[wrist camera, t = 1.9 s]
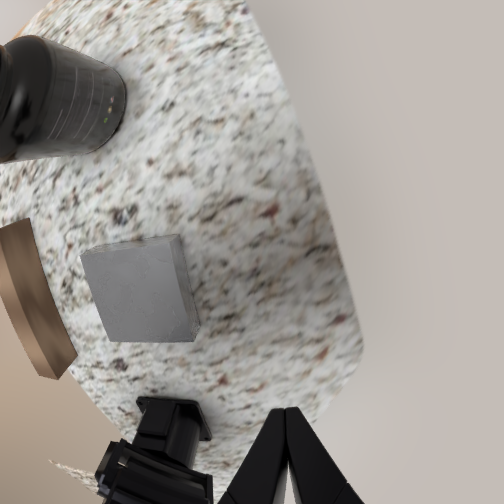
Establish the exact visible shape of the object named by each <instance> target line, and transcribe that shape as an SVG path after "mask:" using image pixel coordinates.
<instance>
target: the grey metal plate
mask: <svg viewBox="0 0 504 504" xmlns="http://www.w3.org/2000/svg"><path fill="white" fill-rule="evenodd" d="M80 258H81V261H82V265H83V268H84V271H85V275H86V278H87V281H88V284H89V287H90V290H91V293H92V296H93V299H94V302H95V304H96V307H97V310H98V312H99V315H100V318H101V320H102V323H103V325H104V328H105V330H106V333H107V335H108V338H109V340H110V341H111V342H194V340H195V338H196V335H197V333H198V330H199V327H200V322H199V318H198V314H197V310H196V306H195V302H194V298H193V294H192V290H191V286H190V281H189V277H188V273H187V268H186V264H185V259H184V254H183V250H182V245H181V240H180V235H179V234H174V235H167V236H160V237H153V238H146V239H139V240H133V241H126V242H120V243H113V244H107V245H101V246H95V247H93V248H92V249H90V250H88V251H87V252H85V253H83V254H82V255H80Z"/></svg>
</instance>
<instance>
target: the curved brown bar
mask: <svg viewBox="0 0 504 504" xmlns="http://www.w3.org/2000/svg"><path fill="white" fill-rule="evenodd" d="M0 295H1V298H2V300H3V303H4V305H5V308H6V310H7V313H8V315H9V317H10V319H11V322H12V324H13V327H14V329H15V331H16V333H17V335H18V337H19V339H20V341H21V343H22V345H23V347H24V349H25V351H26V353H27V355H28V357H29V359H30V360H31V362H32V364H33V366H34V368H35V369H36V371H37V373H38V374H39V376H43V377H47V378H51V379H56V380H58V379H59V378H60V377H61V376H62V374H63V373H64V372H65V371H66V369H67V368H68V367H69V366H70V365H71V363H72V362H73V361H74V360H75V358H76V357H77V356H78V355H77V353H76V351H75V349H74V347H73V345H72V343H71V341H70V339H69V336H68V334H67V332H66V330H65V327H64V325H63V323H62V320H61V318H60V316H59V313H58V311H57V308H56V306H55V303H54V300H53V298H52V295H51V292H50V289H49V287H48V284H47V281H46V278H45V275H44V272H43V269H42V265H41V262H40V259H39V255H38V252H37V248H36V244H35V240H34V236H33V232H32V228H31V224H30V219H29V218H26V219H23V220H20V221H17V222H15V223H12V224H9V225H7V226H4V227H2V228H0Z"/></svg>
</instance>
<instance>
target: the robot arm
mask: <svg viewBox="0 0 504 504" xmlns="http://www.w3.org/2000/svg"><path fill="white" fill-rule="evenodd" d="M136 403H137V405H138V407H139V409H140V410H141V412H142V414H143V416H142V418H141V420H140V423H139V425H138V427H137V433H136V435H135V437H134V440H133V442H132V444H130V443H128V442H127V441H126V440H124V439H123V438H121V440H120V442H113V441H111V442H110V444H109V446H108V448H107V450H106V453H105V455H104V457H103V459H102V461H101V463H100V465H99V467H98V469H97V471H96V473H95V475H94V476H95V478H96V480H97V482H98V485H97V487H99V490H98V492H97V495H99V496H101V497H103V498H104V500H103V503H102V504H213V477H212V475H209V474H203V473H200V472H197V471H194V470H193V465H194V461H195V456H196V452H197V448H198V443H199V441H211V438H212V436H211V433H210V431H209V429H208V426H207V424H206V422H205V419H204V417H203V415H202V412H201V410H200V407H199V405H198V403H197V402H195V401H182V400H165V399H152V398H142V397H138V398H137V400H136ZM118 462H120V463H122V464H124V465H125V466H123V465H121V464H119V463H118ZM288 465H289V472H290V477H291V482H292V486H293V492H294V497H295V502H296V504H364V502H363V501H362V500H361V499H360V497H359V496H358V495H357V493H356V492H355V491H354V490H353V488H352V487H351V485H350V484H349V483H347V480H346V479H345V477H344V476H343V474H342V473H341V471H340V470H339V468H338V467H337V465H336V464H335V462H334V461H333V459H332V458H331V456H330V455H329V453H328V452H327V450H326V449H325V448H324V446H323V445H322V443H321V441H320V440H319V438H318V437H317V436H316V434H315V432H314V431H313V429H312V428H311V426H310V424H309V423H308V421H307V420H306V418H305V417H304V415H303V414H302V412H301V410H300V409H299V408H298V407H287V408H285V409H284V408H274V409H271V411H270V412H269V414H268V416H267V418H266V420H265V422H264V424H263V426H262V428H261V430H260V432H259V434H258V436H257V437H256V439H255V441H254V443H253V445H252V447H251V448H250V450H249V452H248V454H247V456H246V457H245V459H244V461H243V463H242V464H241V466H240V468H239V470H238V471H237V473H236V475H235V476H234V478H233V480H232V481H231V483H230V485H229V486H228V488H227V491H226V492H225V493H224V494H223V496H222V497H221V499H220V501H219V502H218V503H217V504H284V498H285V490H286V481H287V473H288Z"/></svg>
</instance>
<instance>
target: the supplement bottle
mask: <svg viewBox="0 0 504 504" xmlns="http://www.w3.org/2000/svg"><path fill="white" fill-rule="evenodd" d="M124 106H125V89H124V85H123V82H122V80H121V78H120V76H119V75H118V73H117V72H116V71H115V70H114V69H112V68H111V67H109V66H108V65H106V64H104V63H102V62H100V61H98V60H95V59H93V58H91V57H89V56H87V55H84V54H82V53H80V52H78V51H75V50H73V49H71V48H68V47H66V46H63V45H61V44H59V43H56V42H54V41H51V40H48V39H46V38H43V37H40V36H36V35H26V36H22V37H18V38H16V39H14V40H12V41H10V42H8V43H7V44H5V45H4V46H2V45H0V164H6V163H12V162H19V161H26V160H33V159H41V158H50V157H60V156H71V155H81V154H86V153H89V152H92V151H94V150H96V149H97V148H99V147H100V146H102V145H103V144H104V143H105V142H106V141H107V140H108V139H109V138H110V137H111V135H112V134H113V133H114V131H115V130H116V128H117V126H118V124H119V122H120V120H121V117H122V114H123V111H124Z"/></svg>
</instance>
